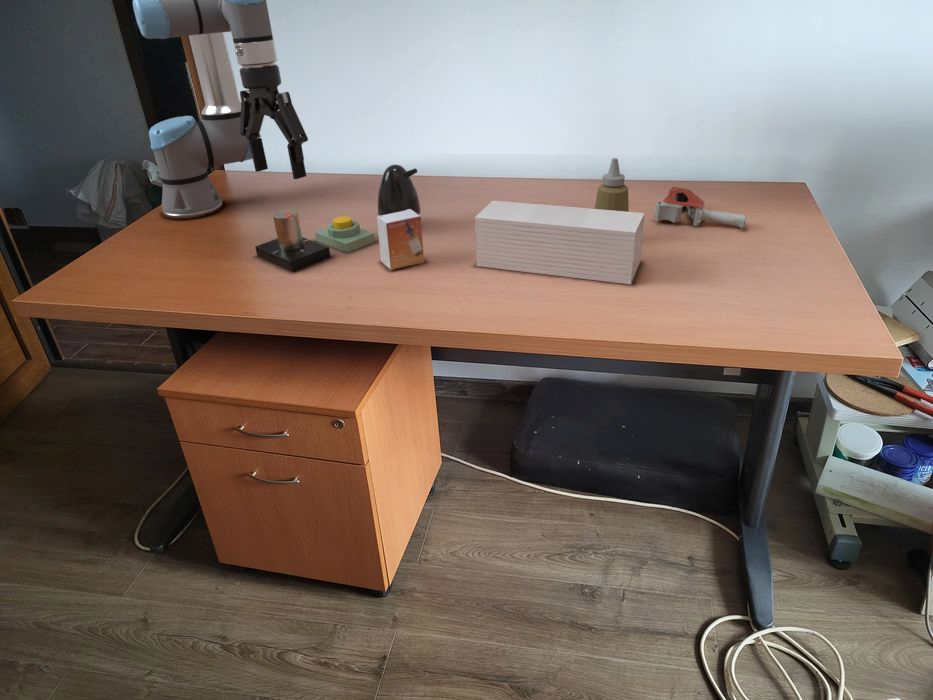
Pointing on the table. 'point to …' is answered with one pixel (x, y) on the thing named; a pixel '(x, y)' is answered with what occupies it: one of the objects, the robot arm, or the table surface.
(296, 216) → the dial
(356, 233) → the button box
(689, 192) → the tape dispenser
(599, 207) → the squeeze bottle
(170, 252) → the table surface
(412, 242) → the small box
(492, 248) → the white ridged block
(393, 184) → the pump dispenser
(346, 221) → the button
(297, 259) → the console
